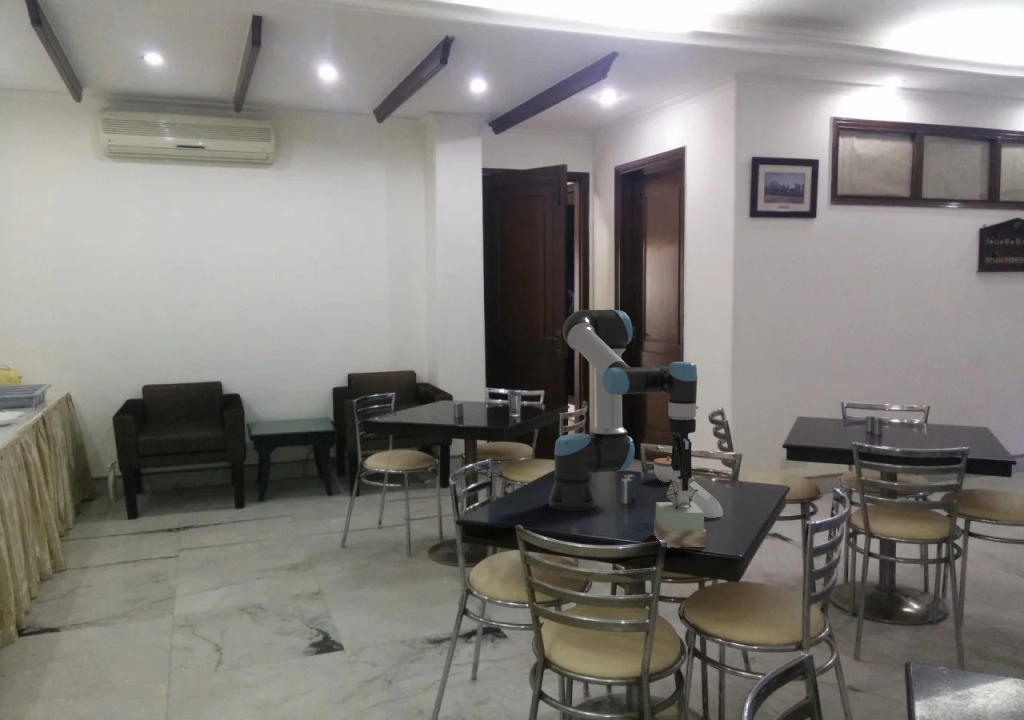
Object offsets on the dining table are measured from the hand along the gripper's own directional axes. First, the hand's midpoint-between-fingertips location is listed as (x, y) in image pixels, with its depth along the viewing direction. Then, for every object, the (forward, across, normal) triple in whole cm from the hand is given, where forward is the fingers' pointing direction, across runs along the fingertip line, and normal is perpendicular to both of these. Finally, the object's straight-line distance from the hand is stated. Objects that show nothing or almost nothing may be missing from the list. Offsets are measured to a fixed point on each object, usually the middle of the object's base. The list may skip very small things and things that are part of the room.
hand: (680, 497), depth 211 cm
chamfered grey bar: (+13, +34, -14) cm, 39 cm away
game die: (+3, 0, 0) cm, 3 cm away
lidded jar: (+13, +73, -11) cm, 74 cm away
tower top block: (+8, 0, 0) cm, 8 cm away
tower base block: (+13, 0, 0) cm, 13 cm away
